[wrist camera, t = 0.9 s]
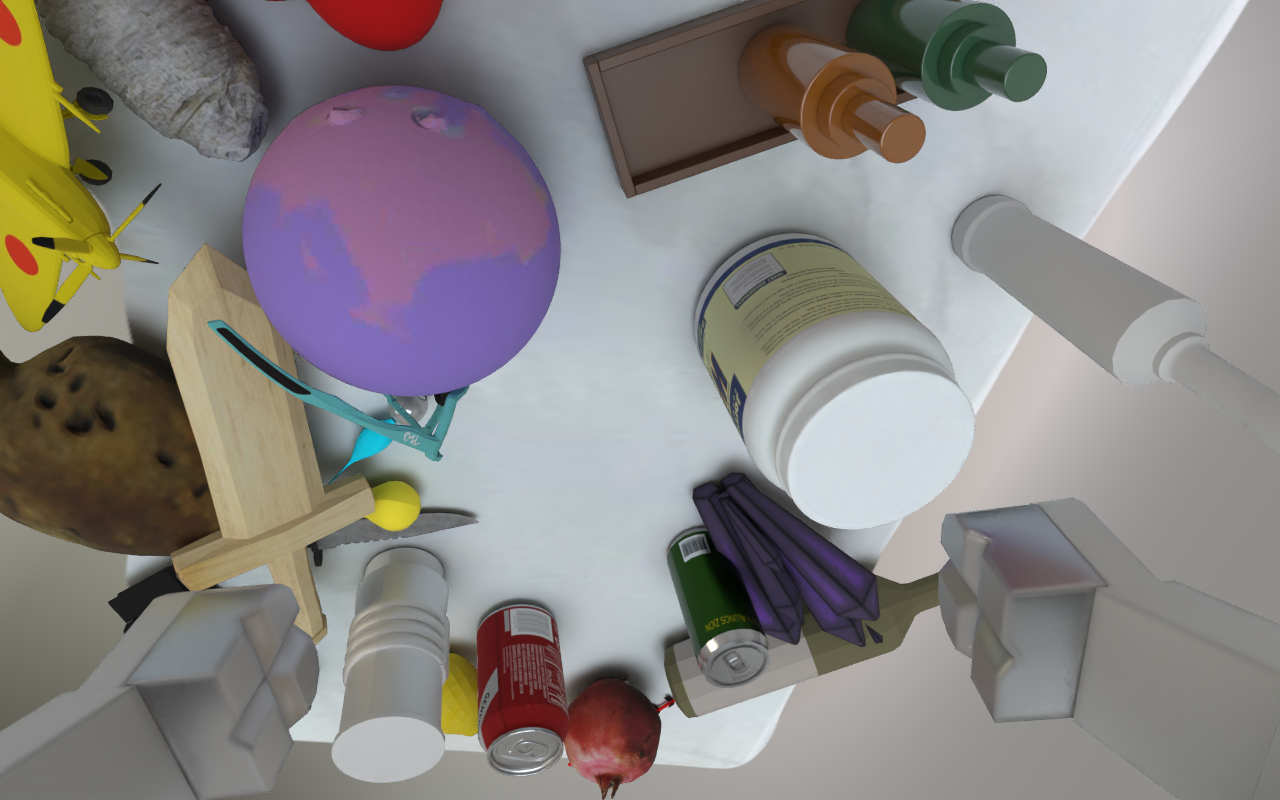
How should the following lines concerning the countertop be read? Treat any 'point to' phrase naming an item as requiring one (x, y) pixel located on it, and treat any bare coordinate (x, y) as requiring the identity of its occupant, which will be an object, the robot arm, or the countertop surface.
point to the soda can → (520, 690)
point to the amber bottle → (828, 94)
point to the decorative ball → (401, 240)
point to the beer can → (717, 611)
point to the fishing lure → (376, 442)
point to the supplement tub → (832, 382)
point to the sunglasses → (400, 433)
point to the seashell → (168, 68)
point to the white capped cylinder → (395, 670)
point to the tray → (695, 91)
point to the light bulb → (395, 506)
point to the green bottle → (947, 50)
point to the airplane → (46, 178)
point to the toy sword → (251, 442)
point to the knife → (386, 531)
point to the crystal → (788, 565)
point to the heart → (379, 20)
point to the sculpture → (101, 449)
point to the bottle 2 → (1109, 310)
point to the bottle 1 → (802, 651)
